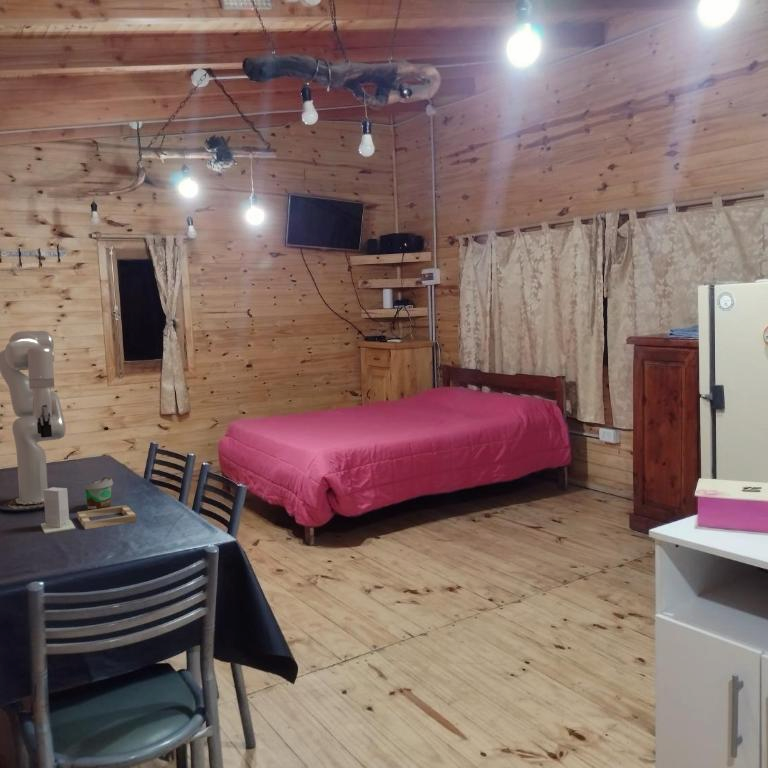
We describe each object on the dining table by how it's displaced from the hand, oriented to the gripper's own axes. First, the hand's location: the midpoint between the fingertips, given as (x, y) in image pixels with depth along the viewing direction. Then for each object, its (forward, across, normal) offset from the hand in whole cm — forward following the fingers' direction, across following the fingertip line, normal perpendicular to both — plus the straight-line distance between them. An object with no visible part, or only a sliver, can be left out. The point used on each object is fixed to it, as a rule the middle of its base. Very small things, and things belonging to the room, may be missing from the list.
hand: (44, 435), depth 241 cm
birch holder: (+28, +13, +16) cm, 35 cm away
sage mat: (+28, +13, +1) cm, 31 cm away
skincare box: (+28, +13, +1) cm, 31 cm away
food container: (+28, -4, +18) cm, 34 cm away
